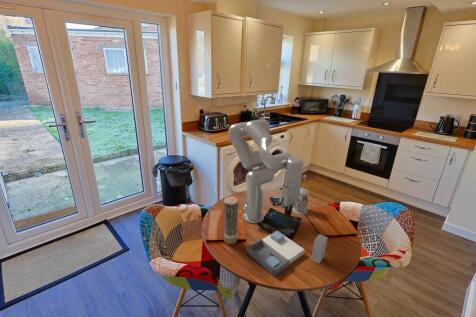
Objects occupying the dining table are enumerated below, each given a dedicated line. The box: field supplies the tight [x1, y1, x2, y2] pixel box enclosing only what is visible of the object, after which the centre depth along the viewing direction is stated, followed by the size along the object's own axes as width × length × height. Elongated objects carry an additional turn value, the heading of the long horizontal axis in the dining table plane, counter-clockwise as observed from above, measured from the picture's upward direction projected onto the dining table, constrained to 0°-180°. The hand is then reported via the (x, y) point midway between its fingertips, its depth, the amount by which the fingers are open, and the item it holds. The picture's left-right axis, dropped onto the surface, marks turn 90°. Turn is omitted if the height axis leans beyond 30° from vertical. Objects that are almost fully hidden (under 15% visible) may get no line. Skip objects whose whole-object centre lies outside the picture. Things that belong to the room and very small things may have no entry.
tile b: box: [270, 230, 285, 243], centre depth 127 cm, size 5×5×2 cm
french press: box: [292, 174, 310, 215], centre depth 154 cm, size 10×12×25 cm
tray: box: [245, 238, 290, 277], centre depth 117 cm, size 19×10×4 cm, turn 39°
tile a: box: [265, 256, 280, 268], centre depth 113 cm, size 5×5×2 cm
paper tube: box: [223, 195, 239, 245], centre depth 125 cm, size 7×7×25 cm
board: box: [261, 234, 305, 265], centre depth 124 cm, size 18×12×3 cm, turn 39°
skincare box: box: [311, 233, 328, 264], centre depth 117 cm, size 6×4×12 cm
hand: (287, 214), depth 124 cm, fingers closed
